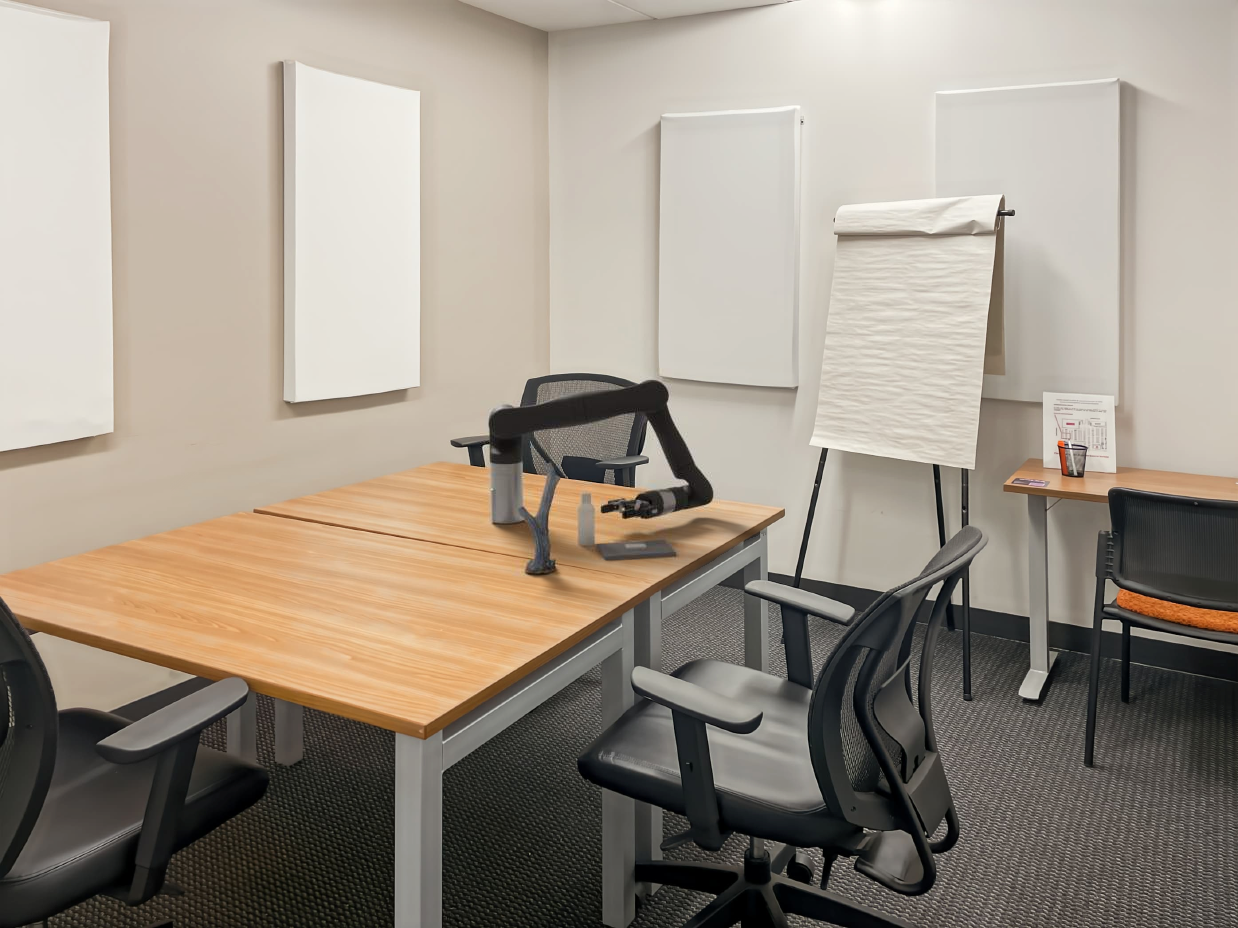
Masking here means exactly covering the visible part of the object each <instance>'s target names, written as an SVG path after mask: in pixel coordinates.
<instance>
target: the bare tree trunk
mask: <svg viewBox="0 0 1238 928" xmlns="http://www.w3.org/2000/svg"><path fill="white" fill-rule="evenodd" d="M546 467H547V468H546V479H545V482H544V483H545V484H544V489H543V491H542V495H541V498H540V502H539V507H538V510H537V512H536V514H535V516H533V515H532V514H531V513H530V512H529V511H528V510H527V509H526V507H524V505H523V506H521V507H520V508H518V512H519V514H520V515H521V516H522V517H523V520H525V521H526V522H527V526H528V528H529V530H530V532H531V533H532V537H533V541H534V558H533V559H530V560H529V561H528V562H527V563H526V566H525V569H524V571H525V572H526V573H529V574H541V573H544V574H546V573H551V572H552V571H553V572H554V571H555V570H556V569H557V567H556V558H553V559H550V558H551V547H552V546H551V543H550V538H549V531H550V530H549V515H550V511H551V507H552V502H553V500H554V495H555V492H556V488H557V485H558V483H559V482H560V480H561V476H559V475H557V473H556V470H555V467H554V465H553V463H552V462H548V463H547V466H546Z"/></svg>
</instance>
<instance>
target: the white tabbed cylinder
mask: <svg viewBox="0 0 1238 928" xmlns="http://www.w3.org/2000/svg"><path fill="white" fill-rule="evenodd" d="M580 497H581V498H580V504H579V505H578V508H577V545H578V546H582V547H591V546H594V545H595V544H596V536H595V535H596V534H595V533H596V532H595V531H596V529H595V527H596V521H595V518H596V517H595V516H596V514H595V513H596V511H595V506H594V504H593V503H592V494H591V492H583V493H582V492H581V493H580Z"/></svg>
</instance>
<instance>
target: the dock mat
mask: <svg viewBox="0 0 1238 928" xmlns="http://www.w3.org/2000/svg"><path fill="white" fill-rule="evenodd" d="M596 549H597V550H598V551H599V553H600V554H601V557H602V558H603V559H604V560H605V561H612V560H627V559H628V560H631V559H644V558H646V559H649V558H650V559H651V558H663V557H664V558H665V557H676V556H677V552H676V550H675V549H674V548H673V547H672V546H671V545H670V544H669V543H668V542H667V541H666V540H665V539H657V540H656V539H655V540H639V541H638V540H637V541H621V542H605V543H604V542H603V543H602V542H601V543H596Z"/></svg>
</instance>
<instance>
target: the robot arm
mask: <svg viewBox="0 0 1238 928" xmlns="http://www.w3.org/2000/svg"><path fill="white" fill-rule="evenodd" d="M668 390H669V389H668V388H667V387H666V385H665V383H663V382H661V381H659V380H656V379H647V380H643V381H641V382H640V383H637V384H634V385H630V386H627V387H623V388H616V389H596V390H595V389H594V390H586V391H579V392H574V393H569V394H564V395H561V396H558V397H555V398H552V399H549V400H547V401H543V402H541V403H537V404H534V405H533V404H532V405H525V406H513V405H511V404H507V403H505V404H504V403H503V404H499V405H497V406H495V408H493V409H492V410H491V412H490V413H489V414H490V415H489V417H488V423H487V424H488V425H487V426H488V429H489V430H488V431H489V432H488V433H489V437H488V438H489V478H490V479H489V480H490V481H489V482H490V486H489V504H490V507H489V508H490V521H491V523H492V524H506V525H507V524H516V523H521V522H523V521H524V518H523V517H522V516H521V515H520V514H519V512H518V508H520V507H521V506H523V507H524V480H523V476H524V473H523V471H524V469H523V435H527V434H530V433H534V432H539V431H544V430H545V431H546V430H555V429H565V428H573V427H578V426H584V425H590V424H593V423H599V422H602V421H605V420H608V419H611V418H614V417H618V416H622V415H631V414H638V413H640V414H641V413H642V414H644V416H645V418H646V419H647V420H648V423H649V424H650V426H651V428H652V430H653V431H654V433H655V436H656V438H657V440H658V442H659V445H660V448H661V450H662V453H663V454H664V457H665V459H666V461H667V464H668V467H669V469H670V470H671V473H672V475H673V477H674V478H676V479H677V480H683V481H685V482H686V483H687V484H685V485H682V486H671V487H667V488H657V489H650V490H647V491H641V492H640V493H638V494H637V495H636V496H635V498H629V499H626V498H624V497H623V498H622V497H621V498H617V499H613V500H607V503H606V504H601V505H600V513H601V514H608V513H615V512H618V513H619V514H621V518H622V519H623V520H628V519H631V518H634V519H635V518H636V519H638V518H640V519H641V520H642V519H643V520H649V519H653V518H658V517H663V516H666V515H668V514H672V513H676V512H680V511H684V510H690V509H694V508H695V509H696V508H698V507H704V506H706V505H709V504H711V502H713V499H714V489H713V486H712V484H711V482H710V481H709V480H708V479H707V477H706V476H705V475H704V474H703V472H702V471H701V470H700V468H698V466H697V464H696V462H695V461H694V458H693V456H692V453H691V452H690V450H689V447H688V445H687V443H686V442H685V440H684V438H683V436H682V435H681V433H680V431H679V430H678V428H677V426H676V424H675V422H674V420H673V418H672V416H671V413H670V410H669V407H668V406H669V405H668V401H669V398H670V396H669V395H670V394H669V391H668Z"/></svg>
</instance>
